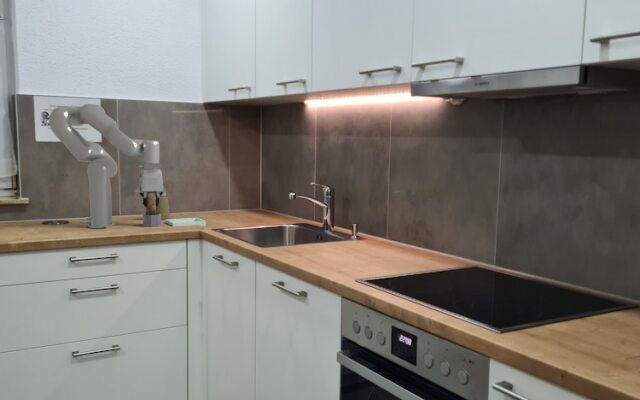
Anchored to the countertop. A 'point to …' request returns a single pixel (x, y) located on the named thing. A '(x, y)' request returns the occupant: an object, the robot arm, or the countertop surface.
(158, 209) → the squeeze bottle
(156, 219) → the grey block
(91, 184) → the robot arm
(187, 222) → the pale green tray
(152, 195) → the walnut pin
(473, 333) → the countertop surface
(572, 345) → the countertop surface
